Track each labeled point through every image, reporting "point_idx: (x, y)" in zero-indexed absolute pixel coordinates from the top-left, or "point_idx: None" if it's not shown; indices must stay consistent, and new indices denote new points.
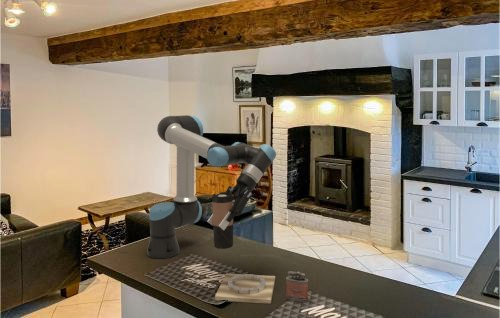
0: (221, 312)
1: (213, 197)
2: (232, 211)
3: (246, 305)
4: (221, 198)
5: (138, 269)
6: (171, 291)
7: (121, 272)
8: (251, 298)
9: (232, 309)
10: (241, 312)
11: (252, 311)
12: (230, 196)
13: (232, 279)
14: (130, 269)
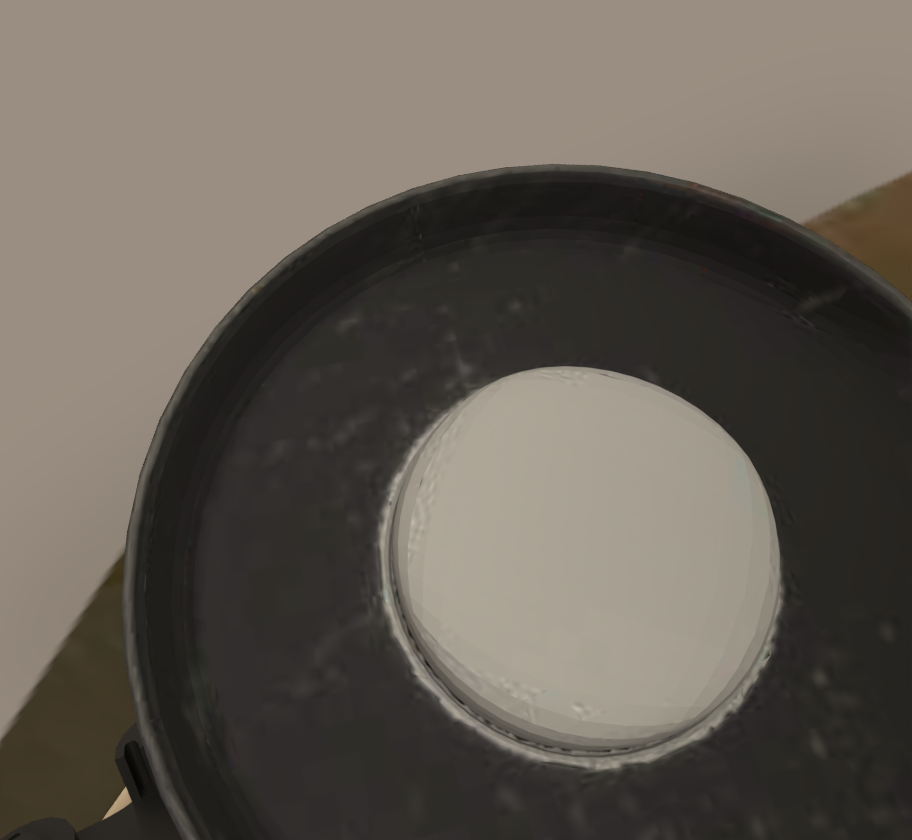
0: (119, 573)
1: (504, 202)
2: (138, 783)
3: (104, 760)
4: (215, 382)
5: (892, 274)
6: None
7: (863, 194)
8: (106, 817)
9: (112, 649)
10: (45, 690)
11: (11, 766)
12: (179, 825)
13: None
14: (900, 237)
